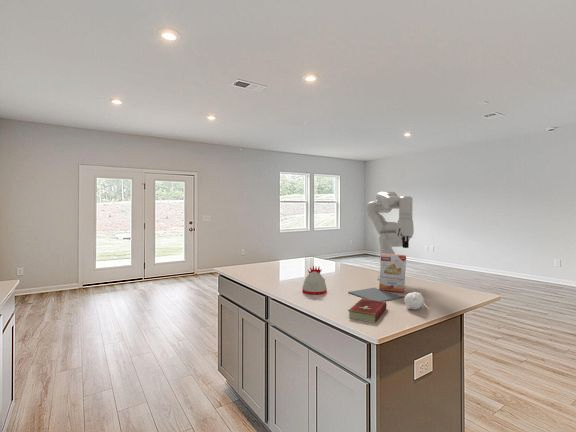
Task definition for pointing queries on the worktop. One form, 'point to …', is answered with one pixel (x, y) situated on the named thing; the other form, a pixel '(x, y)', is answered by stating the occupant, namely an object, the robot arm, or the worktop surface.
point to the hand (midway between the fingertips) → (405, 247)
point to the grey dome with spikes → (314, 283)
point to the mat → (375, 294)
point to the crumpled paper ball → (414, 301)
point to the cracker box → (392, 272)
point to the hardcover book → (367, 310)
